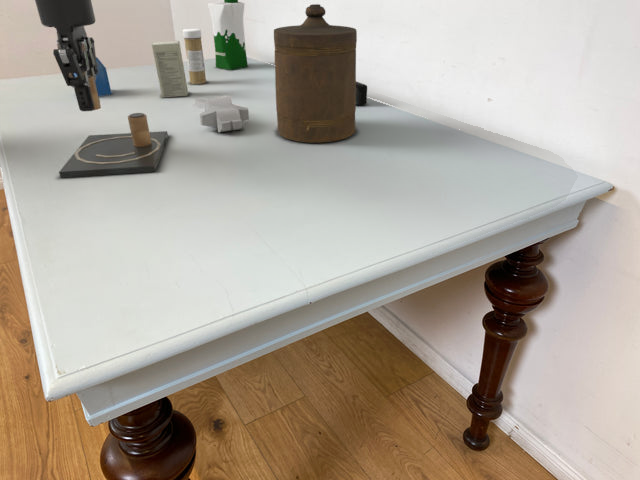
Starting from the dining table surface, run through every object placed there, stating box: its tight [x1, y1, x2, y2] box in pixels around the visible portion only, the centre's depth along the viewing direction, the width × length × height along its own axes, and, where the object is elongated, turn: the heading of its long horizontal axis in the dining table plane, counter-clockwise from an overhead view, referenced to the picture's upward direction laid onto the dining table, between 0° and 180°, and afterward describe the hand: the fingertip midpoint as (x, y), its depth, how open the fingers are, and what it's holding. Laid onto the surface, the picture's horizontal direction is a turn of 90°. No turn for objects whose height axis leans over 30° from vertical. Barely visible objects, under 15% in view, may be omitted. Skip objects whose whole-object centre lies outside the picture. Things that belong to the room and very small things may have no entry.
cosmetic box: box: [151, 40, 189, 98], centre depth 115 cm, size 6×4×12 cm
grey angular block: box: [193, 94, 250, 133], centre depth 96 cm, size 10×5×15 cm
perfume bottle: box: [74, 56, 113, 97], centre depth 117 cm, size 6×6×12 cm
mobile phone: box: [356, 81, 368, 106], centre depth 112 cm, size 5×3×15 cm
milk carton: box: [207, 0, 249, 71], centre depth 144 cm, size 9×9×20 cm
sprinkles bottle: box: [182, 28, 207, 85], centre depth 127 cm, size 5×5×13 cm
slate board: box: [58, 130, 169, 179], centre depth 82 cm, size 14×18×1 cm
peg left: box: [76, 75, 102, 111], centre depth 78 cm, size 3×3×5 cm
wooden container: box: [273, 3, 358, 144], centre depth 87 cm, size 15×15×22 cm
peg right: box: [127, 112, 151, 147], centre depth 82 cm, size 3×3×5 cm
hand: (90, 107), depth 79 cm, fingers closed on peg left, 3 cm apart
